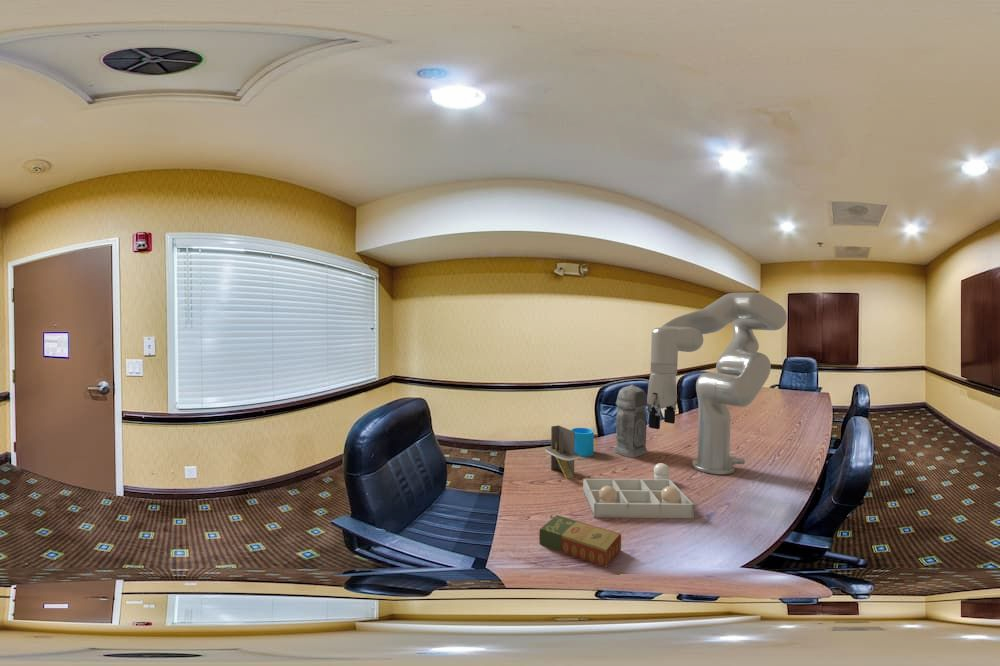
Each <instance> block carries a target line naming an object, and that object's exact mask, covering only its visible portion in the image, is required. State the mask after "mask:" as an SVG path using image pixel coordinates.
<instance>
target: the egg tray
mask: <svg viewBox="0 0 1000 666" xmlns="http://www.w3.org/2000/svg"><path fill="white" fill-rule="evenodd" d="M604 486H611V487H613V488H614V489H615V490H616V492H617V499H616V503H600V497H599V491H600V489H601V488H602V487H604ZM667 486H672V487H674V488H676V489H677V490H678V492H679V494H680V499H679V504H671V503H662V497H661V492H662V490H663V488H665V487H667ZM582 492H583V494H584V496H585V498H586V501H587V503H588V506H589V508H590V511H591V513H592V516H593V518H599V519H600V518H602V519H603V518H606V519H607V518H610V519H611V518H612V519H613V518H614V519H615V518H616V519H617V518H618V519H619V518H621V519H623V518H624V519H630V518H631V519H635V518H636V519H644V518H645V519H694V518H695V517H694V516H695V515H694V514H695V513H694V512H695V504H694V503H693V502H692V501H691V499H689V497H687V496H686V494H684V492H682V490H681V489H680V488H679V487H678V486H677V485H676V484H675V483H674V482H673V481H672V479H670V478H669V479H654V478H582Z"/></svg>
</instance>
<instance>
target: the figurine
mask: <svg viewBox="0 0 1000 666" xmlns="http://www.w3.org/2000/svg"><path fill="white" fill-rule="evenodd" d="M647 396H648V394H647V393H646V391H645V390H643V389H642V388H640V387H638V386H636V385H634V384H633V383H632V384H630V385H628V386H624V387H622V388H621V389H620V390H619V391H618V393H617V398H616V401H615V405H616V406H617V410H616V420H615V425H616V426H615V432H616V436H615V439H616V446H614V448H613V452H614V453H615V454H618V455H620V456H625V457H627V458H632V459H633V458H636V457H639V456H642V455H646V454H648V451H647V450H648V449H647V448H646V447H647V446H646V445H647V425H648V423H647V422H648V421H647V420H648V419H647V418H648V417H647V416H648V411H646V410H647V409H646V407H647V408H648V406H647Z"/></svg>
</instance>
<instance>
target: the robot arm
mask: <svg viewBox="0 0 1000 666" xmlns="http://www.w3.org/2000/svg"><path fill="white" fill-rule="evenodd" d="M787 317H788V316H787V312H786V310H785V308H784V307H783V305H781V304H780V303H778V302H776V301H775V300H773V299H771V298H769V297H768V296H766V295H764V294H761V293H760V292H754V291H753V292H752V291H751V292H747V291H746V292H731V293H726V294H724V295H722V296H721V297H719V298H718V299H716V300H714V301H713V302H711V303H709V305H706V307H704V308H702V309H698V310H694V311H691V312H689V313H685V314H683V315H680V316H677V317H675V318H673V319H670V320H669V321H667V322H666V323H664V324H663V325H662V326H661V327H655V328H653V329H652V331H651V343H650V346H651V348H650V349H651V350H650V351H651V352H650V375H649V380H648V385H647V387H648V388H647V415H648V428H649V429H655V430H660V428H661V415H660V412H661V410H662V409H664V410H663V411H664V412H663V413H664V414H663V415H664V416H663V418H664V419H663V420H664V423H667V424H671V425H672V424H675V423H676V410H677V407H676V405H677V403H678V402H677V400H678V394H677V376H678V361H679V359H678V357H679V352H683V353H692V352H696V351H699V349H701V347H703V344H704V335H707V334H708V335H709V334H713V333H717V332H719V331H721V330H722V329H724V328H725V327H726V326H729V325H730V324H731V325H732V326H731V327H732V335H733V336H732V339H731V340H730V342H729V344H728V346H727V347H726V348H725V349H724V351H723V352H722V353H721V354H720V356H719V358H718V359H717V361H716V365H715V369H716V371H717V372H716V371H715V372H714V371H709V372H704V373H702V374H701V375H700V374H699V376H698V378H697V379H696V383H695V391H696V397H697V402H698V420H697V421H698V425H697V451H696V452H697V453H696V455H697V456H696V457H697V458H696V459H694V460H692V462H691V465H692V467H693V468H694V469H695V470H698V471H699V472H703V473H707V474H712V475H721V476H722V475H731V474H733V473H734V472H735V465H736V464H737V465H744V464H745V462H746V460H745V458H744V457H737V456H736V455H735V456H731V455H730V448H731V444H730V443H731V424H732V423H731V420H732V419H731V413H730V410H729V408H728V406H731V407H739V408H746V407H747V406H749V405H750V404H752V402H753V401H754V400H755V398H756V397H757V395H758V393H760V391H761V389H762V388H763V386H764V385H765V383H766V381H767V380H768V379H769V376H770V373H771V366H772V364H771V360H770V358H769V357H768V356H767V355H766V354H764V353H762V352H758V351H759V348H760V344H759V342H758V339H757V337H756V336H755V333H754V331H755V330H756V331H757V330H758V331H778V330H781V329H782V328H783V327H784V326H785V325H786V323H787V320H788V318H787ZM676 375H677V376H676ZM727 405H728V406H727Z"/></svg>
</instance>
